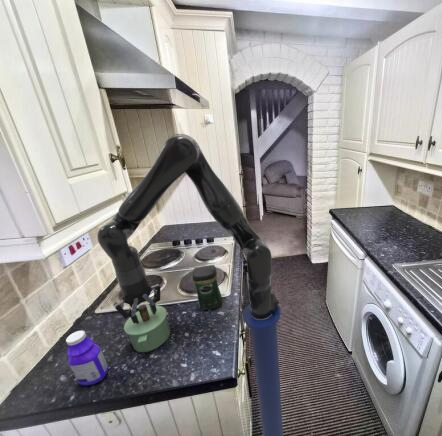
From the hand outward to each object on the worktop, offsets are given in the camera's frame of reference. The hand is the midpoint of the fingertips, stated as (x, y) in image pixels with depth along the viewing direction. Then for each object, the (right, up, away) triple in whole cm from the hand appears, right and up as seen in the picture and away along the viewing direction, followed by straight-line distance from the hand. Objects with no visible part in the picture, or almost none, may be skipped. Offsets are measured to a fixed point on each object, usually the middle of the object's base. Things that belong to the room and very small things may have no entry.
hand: (145, 317), depth 81 cm
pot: (0, -9, +4) cm, 10 cm away
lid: (0, -1, 0) cm, 1 cm away
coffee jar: (+16, -3, +19) cm, 25 cm away
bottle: (-9, -15, -10) cm, 20 cm away
